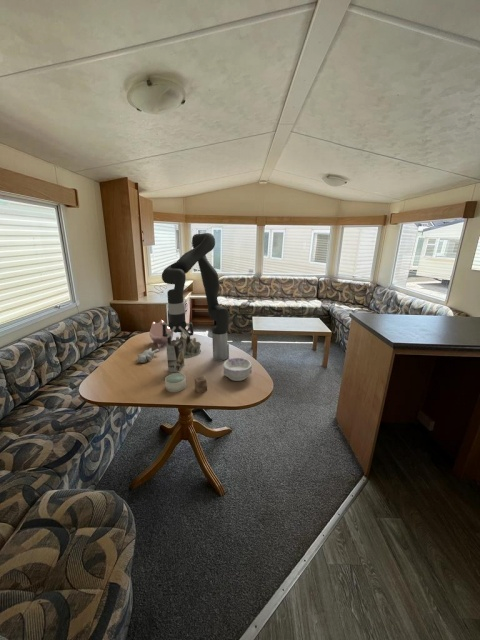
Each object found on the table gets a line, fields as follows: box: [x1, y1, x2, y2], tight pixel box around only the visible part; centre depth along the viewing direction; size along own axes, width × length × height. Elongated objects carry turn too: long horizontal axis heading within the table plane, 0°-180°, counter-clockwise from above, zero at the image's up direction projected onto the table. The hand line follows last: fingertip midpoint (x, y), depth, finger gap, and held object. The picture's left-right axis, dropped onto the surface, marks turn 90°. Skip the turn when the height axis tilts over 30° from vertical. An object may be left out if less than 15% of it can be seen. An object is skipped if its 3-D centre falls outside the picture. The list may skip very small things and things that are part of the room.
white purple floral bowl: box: [223, 357, 253, 382], centre depth 140 cm, size 15×15×8 cm
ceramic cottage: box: [175, 332, 202, 359], centre depth 168 cm, size 16×16×15 cm
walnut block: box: [194, 375, 208, 394], centre depth 128 cm, size 4×4×6 cm
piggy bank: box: [149, 319, 174, 348], centre depth 185 cm, size 15×18×16 cm
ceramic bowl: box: [164, 372, 187, 393], centre depth 131 cm, size 10×10×5 cm
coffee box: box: [165, 339, 186, 373], centre depth 148 cm, size 9×6×16 cm
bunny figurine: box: [136, 347, 160, 364], centre depth 163 cm, size 10×5×15 cm
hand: (179, 343), depth 127 cm, fingers open, 8 cm apart
